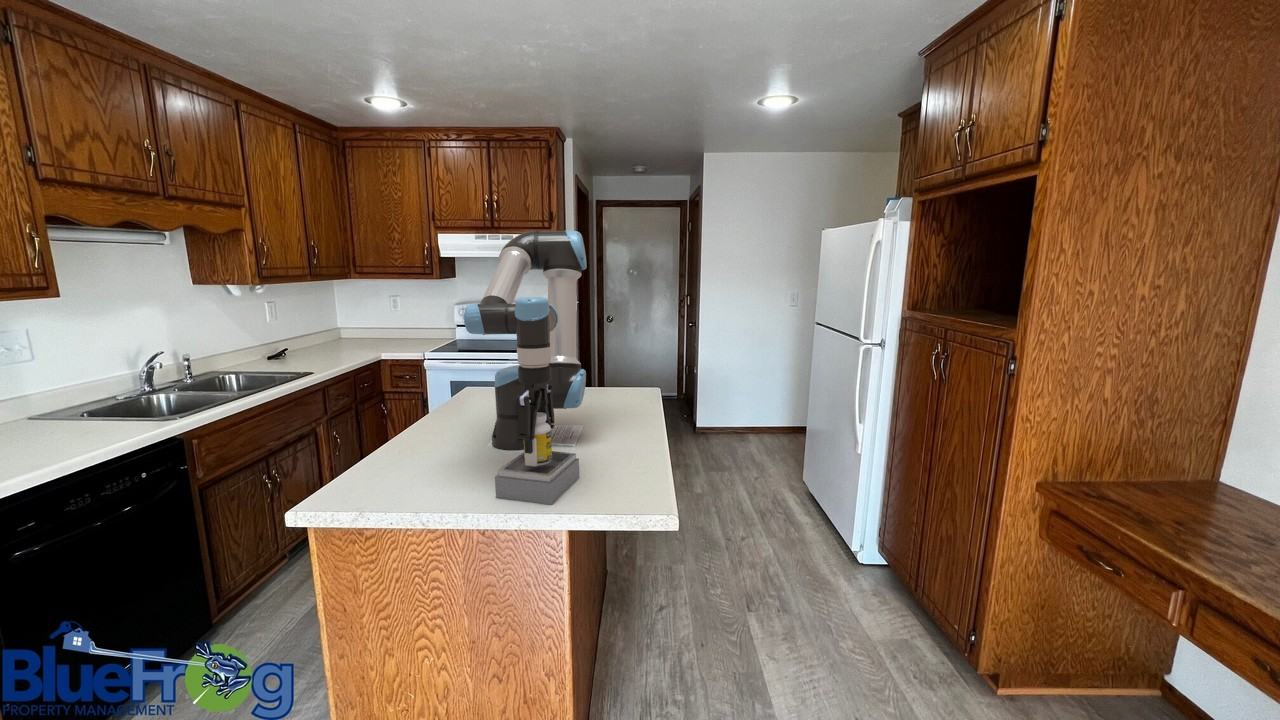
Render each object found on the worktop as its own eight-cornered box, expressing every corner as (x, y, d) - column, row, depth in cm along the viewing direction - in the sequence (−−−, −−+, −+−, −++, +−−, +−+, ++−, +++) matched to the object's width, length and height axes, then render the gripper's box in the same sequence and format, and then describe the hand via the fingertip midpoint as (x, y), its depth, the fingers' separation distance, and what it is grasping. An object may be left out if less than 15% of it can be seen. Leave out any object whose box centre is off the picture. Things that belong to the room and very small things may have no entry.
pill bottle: (546, 467, 121) (544, 419, 119) (520, 465, 122) (517, 417, 120) (556, 457, 127) (554, 411, 125) (531, 456, 129) (529, 410, 127)
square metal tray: (522, 471, 136) (521, 447, 135) (579, 477, 131) (578, 453, 130) (488, 496, 121) (486, 469, 120) (551, 504, 116) (550, 477, 115)
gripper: (539, 357, 131) (542, 445, 135) (497, 371, 113) (503, 473, 117) (566, 358, 129) (569, 448, 133) (529, 373, 111) (533, 477, 114)
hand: (538, 459), depth 125 cm, fingers closed on pill bottle, 6 cm apart
